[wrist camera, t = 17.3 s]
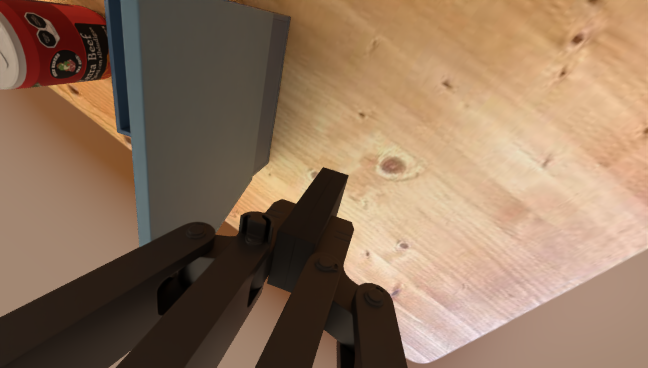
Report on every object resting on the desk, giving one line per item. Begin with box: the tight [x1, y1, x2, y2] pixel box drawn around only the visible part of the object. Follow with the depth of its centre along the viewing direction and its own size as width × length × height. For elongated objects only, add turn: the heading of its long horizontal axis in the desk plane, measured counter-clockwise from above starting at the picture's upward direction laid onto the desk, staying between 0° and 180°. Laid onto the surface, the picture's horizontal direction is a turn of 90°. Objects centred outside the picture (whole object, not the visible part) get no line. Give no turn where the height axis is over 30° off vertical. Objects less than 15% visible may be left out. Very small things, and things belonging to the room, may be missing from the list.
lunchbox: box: [104, 0, 291, 176], centre depth 32 cm, size 17×16×4 cm
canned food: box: [0, 0, 111, 89], centre depth 31 cm, size 8×8×11 cm
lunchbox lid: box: [120, 0, 274, 247], centre depth 21 cm, size 18×16×1 cm
